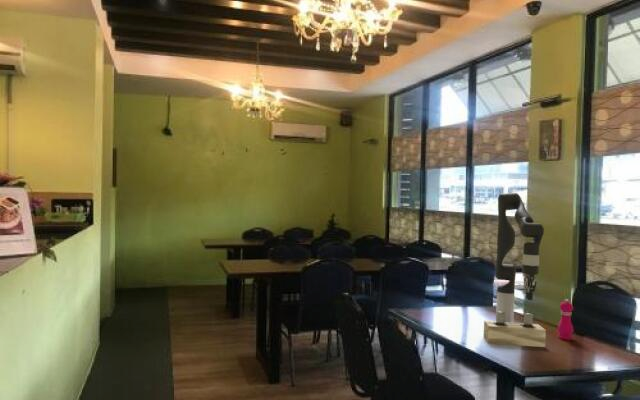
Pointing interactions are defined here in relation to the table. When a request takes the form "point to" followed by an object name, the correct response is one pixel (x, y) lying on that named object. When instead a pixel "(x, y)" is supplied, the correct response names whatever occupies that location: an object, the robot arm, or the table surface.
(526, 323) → the peg
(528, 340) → the collar block
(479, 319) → the table surface
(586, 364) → the table surface
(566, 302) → the pepper mill
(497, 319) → the peg
